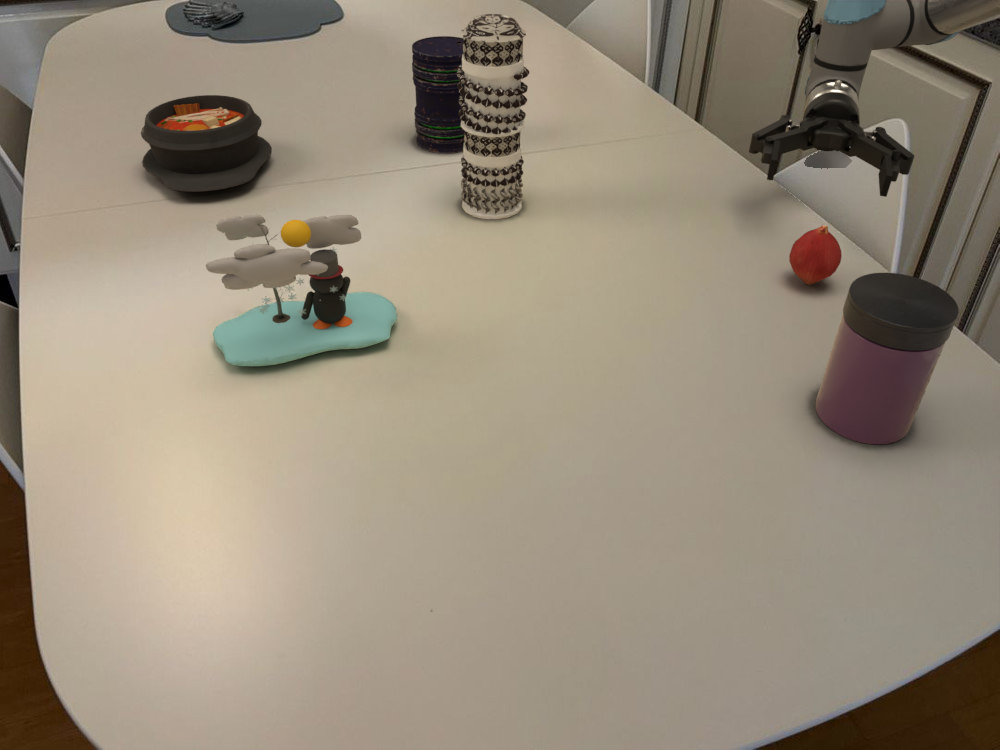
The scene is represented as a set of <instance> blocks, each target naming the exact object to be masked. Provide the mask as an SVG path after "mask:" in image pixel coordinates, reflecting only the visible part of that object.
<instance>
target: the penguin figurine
mask: <svg viewBox="0 0 1000 750" xmlns="http://www.w3.org/2000/svg"><path fill="white" fill-rule="evenodd" d="M265 223H266V218H265V217H264V216H262V215H260V214H249V215H243V216H240V215H235V216H230V217H226V218H223V219H221V220H219V221H218V222H217V224H216V225H215V226H216V230H217V231H218V232H220V233H222V234H224V236H225V238H226V239H227V240H228V241H240V240H244V239H246V238H252V239H253V238H261V237H265V240H266V243H256V244H254V243H252V244H251V245H248V246H243V247H241V248H239V249H236V250H234V251H233V255H234V256H229V257H222V258H218V259H213V260H212V261H209V262H206V264H205V268H206V270H207V271H208V272H210V273H212V274H218V275H223V276H222V277H221V283H222V284H223V286H224V288H225V289H226V290H231V291H237V290H238V291H239V290H247V291H248V292H249V291H250V289H252V290H253V289H254V288H256V287H258V286H260V285H262V286H263V288H265V289H272V291H273V293H274V297H275V302H272V301H271V297H267V296H266V295H265V297H263V298H261V300H262V303H264V304H261V305H260V306H257V307H253V308H251V309H249V310H248V311H245V312H244V313H242V314H240V315H238V316H236V317H233V318H231V319H228V320H225V321H222V322H221V323H219V324H218V325H217V326H216V327H215V328H214V330H213V331H212V337H213V340H214V343H215V345H216V346H217V347H218V349H219V350H220V351H221V352H222V354H223V356H224V359H225V361H226V362H227V363H228V364H230V365H233V366H239V367H267V366H275V365H280V364H284V363H289V362H292V361H295V360H300V359H302V358H306V357H308V356H309V357H311V356H314V355H316V354H320V353H325V352H329V351H337V350H354V349H362V348H367V347H370V346H373V345H377V344H379V343H382V342H385V341H387V340H388V339H390V338H391V331H392V327H393V326H394V325H395V324H396V321H397V319H398V313H397V307H396V305H395V304H394V303H393V302H392V301H391V300H389V299H388V298H387V297H385V296H384V295H381V294H379V293H375V292H370V291H357V292H356V291H355V292H348V291H349V288H350V285H351V278H350V277H349V276H344V277H343V275H342V274H343V272H344V267H343V266H342V265H340V264H339V259H338V251H337V248H335V247H334V246H333V245H339V246H345V245H352V244H356V243H359V242H360V241H362V233H361V230H360V229H359V228H357V227H355V226H358V225H359V220H358V218H357V217H356V216H354V215H352V214H337V215H330V216H325V215H321V216H313V217H309V218H307V219H304V220H301V219H291V220H289V221H286V222H285V223H284V224H283V225H282V226H281V229H280V238H281V240H282V242H283V243H284V244H285V245H287V246H288V247H291V248H281V249H276V248H275V247H274V246H273V245H270V241H271V240H273V241H275V240H276V237H277V236H278V235H279V233H276V234H275V235H274V236H273V237H272V238H270V239H268V237H270V235H269V233H270V232H269V228H268V226H267V225H265ZM267 236H268V237H267ZM305 245H306V247H307V248H308V249H312V250H315V249H318V250H315V251H313V252H311V251H309V250H308V249H303V248H301V247H304V246H305ZM331 246H332V248H330V249H324V248H327V247H331ZM298 275H300V276H309V277H310V278H309V281H308V283H309V286H310V288H311V289H312V290H313V291H314V292H313V291H308V292H307V293H306V296H305V299H304V300H293V299H297V298H298V297H296V296H297V294H293V293H291V292H292V291H295V289H294V287H295V285H292V286H290V285H291V284H292V283H295V282H296V281H297V282H296V284H297V285H298V284H299V285H300V286H302V284H304V283H305V282H304V280H305V279H301V278H300V277H299V280H297V277H296V276H298ZM278 288H279V290H278ZM282 288H284V289H285V294H286V293H291V294H289V297H288V298H287V299H288V300H284V299H285V298H284V297H282V296H283V295H284V291H283V290H282ZM280 291H281V294H280V295H279V292H280Z"/></svg>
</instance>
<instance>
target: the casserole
mask: <svg viewBox="0 0 1000 750" xmlns="http://www.w3.org/2000/svg"><path fill="white" fill-rule="evenodd" d="M262 122H263V120H262V119H261V117H260V116H259V115H258V114H257V113H256V112H255V111H254V109H253V107H252V105H251V104H250V103H249V102H247V100H243V99H241V98H238V97H234V96H229V95H219V94H217V95H216V94H207V95H206V94H204V95H202V94H201V95H192V96H186V97H180V98H176V99H171V100H169V101H166V102H163V103H160V104H159V105H157V106H155V107H153V108H152V109H150V110H149V111H148V112H147V113H146V115H145V117H144V124H143V125H144V126H143V127H142V128H141V131H140V135H141V138H142V139H143V140H144V142H145V143H147V144H148V145H149V147H150V149H148V150H147V151H146V152H145V154H144V156H143V158H142V162H141V163H142V167H143V168H144V169H145V171H146V172H147V173H149V174H150V175H153V177H155V178H157V179H159V180H160V181H161V182H162V183H163V184H164V186H165V187H166V188H168V189H170V190H173V191H176V192H183V193H186V192H187V193H193V192H194V193H200V192H213V191H219V190H226V189H230V188H234V187H238V186H241V185H244V184H246V183H248V182H250V181H251V180H253V179H254V178H255V176H256V175H257V173H258V171H259V169H260V168H261V166H262V165H264V164H265V163H266V161H268V159H269V158H270V157H271V155H272V151H273V150H272V146H271V144H270V142H268V140H266V138H265V139H264V137H262V136H259V131H260V129H261V128H262Z"/></svg>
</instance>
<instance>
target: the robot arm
mask: <svg viewBox="0 0 1000 750" xmlns="http://www.w3.org/2000/svg"><path fill="white" fill-rule="evenodd" d="M999 18H1000V0H827V2H826V6H825V9H824V11H823V19H822V23H821V29H820V33H819V38H818V43H817V47H816V51H815V55H814V58H813V61H812V65H811V69H810V72H809V76H808V77H807V80H806V85H805V88H804V95H805V99H804V100H805V101H804V106H803V114H802V120H801V121H800V122H795V121H793V119H791V116H790V115H789V114H782V115H781V116H780V118H779V119H778V120H776V121H774V122H772V123H771V124H769V125H766V126H765V127H763V128H760V129H759V130H757V131H755V132H752V134H751V138H750V143H749V147H748V148H749V150H748V153H749V154H751V155H752V154H753V155H756V154H759V153H761V158H760V162H761V164H766V165H768V169H767V170H768V171H767V175H766V181H774V179H775V178H774V177H775V174H776V170H777V164H778V159H779V155H783V154H786V153H791V152H793V151H796V150H801V151H809V150H811V149H815V150H818V151H821V152H840V153H842V154H844V155H846V157H849V158H853V157H856V158H858V159H860V160H861V161H863V162H865V163H867V164H869V165H870V166H872V167H874V168H876V169H877V170H879V171H878V185H879V186H878V187H879V196H880V197H885V198H886V197H887V196H888V193H889V190H890V187H891V184H892V182H894V183H896V181H898V177H899V175H900V174H901V175H904V176H908V175H909V174H910V171H911V168H912V165H913V162H914V159H915V154H914V153H912V152H911V151H910V150H909V149H908V148H906V147H905V146H903V145H902V144H901V143H899V142H898V141H897V140H896V139H894V138H893V137H891V136H890V135H889V134H888V133H887V130H886V129H885V128H884V127H882V126H876V127H875V129H874V130H872V131H865V130H864V128H863V127H862V126H861V125H860V124H861V121H860V120H861V119H860V92H861V88H862V84H863V81H864V77H865V73H866V70H867V66H868V64H869V60H870V57H871V54H872V51H877V50H878V51H879V50H887V49H895V48H901V47H903V48H904V47H912V46H923V45H924V46H932V45H935V44H939V43H943V42H947V41H950V40H952V39H954V38H955V37H957V35H958V34H959V33H960V32H961V31H964V30H967V29H969V28H974V27H976V26H979V25H982V24H986V23H988V22H990V21H993V20H996V19H999Z"/></svg>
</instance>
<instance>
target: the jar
mask: <svg viewBox="0 0 1000 750" xmlns="http://www.w3.org/2000/svg"><path fill="white" fill-rule="evenodd" d="M835 335H836V336H835V338H834V342H833V343H832V348H831V350H830V353H829V356H828V360H827V363H826V367H825V370H824V373H823V375H822V380H821V383H820V385H819V390H818V393H817V395H816V399H815V403H814V407H815V412H816V414H817V416H818V418H819V419H820V421H822V423H823V424H824V425H825V426H827V428H829V429H830V430H832V431H833V432H835V433H836V434H838V435H840V436H842V437H843V438H846V439H848V440H851V441H854V442H856V443H857V442H858V443H861V444H868V445H889V444H893V443H896V442H899V441H901V440H902V439H904V438H905V437H906V436H907V435H908V433H909V432H910V429H911V428H912V424H913V422H914V419H915V418H916V415H917V413H918V410H919V408H920V406H921V403H922V400H923V398H924V395H925V393H926V391H927V388H928V386H929V383H930V381H931V379H932V376H933V374H934V371H935V369H936V366H937V364H938V361H939V359H940V356H941V355H942V351H943V349H944V347H945V344H946V342H945V343H944V344H942V345H941V346H939V347H936V348H933V349H929V350H920V351H911V350H901V349H895V348H891V347H887V346H883V345H881V344H878V343H875V342H873V341H871V340H869V339H867V338H865V337H863V336H861V335H860V334H858V333H857V332H856V331H854V330H853V329H852V328H851V327H850V326H849V325H848V323H847V322H846V320H845V318H844V316H843V314H842V315H841V319H840V321H839V325H838V328H837V332H836V334H835Z"/></svg>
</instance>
